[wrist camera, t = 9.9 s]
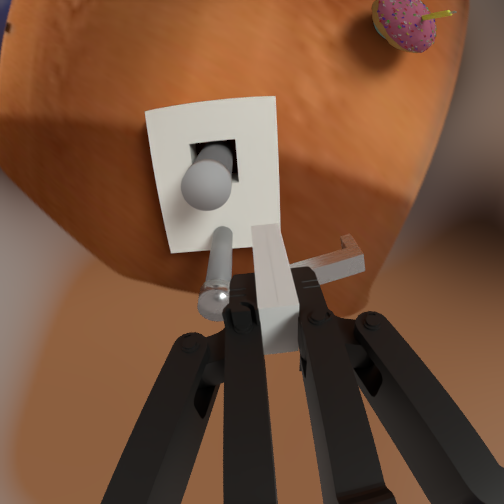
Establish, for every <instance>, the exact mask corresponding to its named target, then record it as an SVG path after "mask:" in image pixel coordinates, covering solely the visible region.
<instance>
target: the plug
mask: <svg viewBox="0 0 504 504" xmlns="http://www.w3.org/2000/svg"><path fill="white" fill-rule="evenodd" d="M232 165H233V150H232V148H231V146H230V145H229V144H228V143H226V142H225V141H222V140H219V141H210V142H208V143H207V144H206V145H205V146H204V147H203V149H202V150H201V152H200V153H199V155H198V156H197V158H196V159H195V161H194V162H193V164H192V165H191V166H190V167H189V168H188V170H187V171H186V173H185V174H184V176H183V178H182V182H181V192H182V195H183V197H184V199H185V200H186V202H187V203H188V204H189V205H190V206H192V207H193V208H195V209H198V210H202V211H211V210H215V209H218V208H220V207H221V206H223V205H224V204H225V203H226V202H227V200H228V199H229V197H230V194H231V188H232V178H231V175H232Z"/></svg>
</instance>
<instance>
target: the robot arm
mask: <svg viewBox="0 0 504 504" xmlns="http://www.w3.org/2000/svg"><path fill="white" fill-rule="evenodd" d="M251 232H252V244H253V256H254V269H255V273H247V274H237V275H234V276H233V278H232V279H231V281H230V287H229V290H230V291H229V304H227V305H226V306H225V307H224V308H223V312H222V316H223V320H224V324H225V328H224V329H223V330H222V331H220V332H219V333H216V334H214V335H212V336H208V337H204V336H203V335H202V334H199V333H196V332H194V333H187V334H183V335H182V336H180V337H179V338H178V339H177V340H176V341H175V343H174V345H173V346H172V349H171V351H170V353H169V355H168V357H167V359H166V361H165V363H164V365H163V367H162V369H161V371H160V373H159V375H158V377H157V379H156V382H155V384H154V386H153V388H152V390H151V392H150V394H149V396H148V398H147V401H146V403H145V405H144V407H143V409H142V411H141V414H140V416H139V418H138V420H137V422H136V424H135V426H134V429H133V431H132V434H131V435H130V437H129V440H128V442H127V444H126V446H125V449H124V451H123V453H122V455H121V458H120V460H119V462H118V464H117V467H116V469H115V471H114V474H113V476H112V478H111V481H110V483H109V485H108V488H107V490H106V492H105V495H104V497H103V500H102V502H101V504H181V501H182V498H183V496H184V493H185V490H186V486H187V484H188V480H189V478H190V475H191V472H192V469H193V466H194V463H195V460H196V456H197V454H198V451H199V448H200V445H201V442H202V439H203V436H204V433H205V429H206V426H207V423H208V420H209V417H210V414H211V411H212V408H213V405H214V402H215V399H216V396H217V392H218V389H219V387H220V384H221V383H223V382H224V426H223V427H224V429H223V430H224V431H223V434H224V435H223V436H224V437H223V484H224V485H223V492H224V504H278V501H277V489H276V479H275V467H274V456H273V445H272V434H271V423H270V412H269V401H268V391H267V379H266V368H265V359H264V355H266V354H275V353H284V352H292V351H298V348H299V350H300V371H302V375H303V381H304V386H305V392H306V397H307V403H308V409H309V414H310V420H311V426H312V432H313V438H314V444H315V451H316V457H317V463H318V469H319V476H320V483H321V489H322V496H323V503H324V504H397V503H396V500H395V497H394V495H393V493H392V492H391V491H390V490H389V489H388V488H387V487H386V485H385V482H384V479H383V475H382V470H381V466H380V462H379V459H378V455H377V451H376V447H375V443H374V439H373V436H372V432H371V428H370V425H369V421H368V418H367V414H366V411H365V408H364V404H363V400H362V397H361V394H360V391H359V388H360V389H361V391H362V392H363V394H364V396H365V397H366V398H367V400H368V402H369V403H370V405H371V407H372V408H373V410H374V411H375V413H376V415H377V416H378V418H379V419H380V421H381V423H382V424H383V426H384V427H385V429H386V431H387V432H388V434H389V435H390V437H391V439H392V440H393V442H394V443H395V445H396V447H397V448H398V450H399V452H400V453H401V455H402V457H403V458H404V460H405V461H406V463H407V465H408V466H409V468H410V470H411V471H412V473H413V475H414V476H415V478H416V480H417V481H418V483H419V485H420V486H421V488H422V490H423V491H424V493H425V495H426V496H427V498H428V500H429V501H430V502H431V504H504V468H503V467H501V466H500V465H499V464H498V463H497V461H496V460H495V458H494V456H493V455H492V454H491V452H490V451H489V449H488V448H487V446H486V445H485V443H484V442H483V440H482V439H481V438H480V436H479V435H478V433H477V432H476V430H475V429H474V428H473V426H472V425H471V423H470V422H469V421H468V419H467V418H466V417H465V415H464V414H463V413H462V411H461V410H460V409H459V407H458V406H457V405H456V403H455V402H454V401H453V399H452V398H451V397H450V395H449V394H448V393H447V391H446V390H445V389H444V388H443V386H442V385H441V384H440V382H439V381H438V380H437V379H436V377H435V376H434V375H433V374H432V373H431V371H430V370H429V369H428V367H427V366H426V365H425V364H424V362H423V361H422V360H421V359H420V358H419V357H418V355H417V354H416V353H415V352H414V350H413V349H412V348H411V347H410V346H409V344H408V343H407V342H406V341H405V340H404V338H403V337H402V336H401V335H400V334H399V333H398V331H397V330H396V329H395V328H394V327H393V326H392V324H391V323H390V322H389V321H388V320H387V319H386V318H385V317H384V316H383V315H382V314H379V313H377V312H372V311H368V312H364V313H362V314H360V315H358V317H357V318H356V320H353V319H344V318H340V317H337V316H335V315H334V314H333V312H332V311H330V310H329V309H328V307H327V305H326V302H325V299H324V296H323V293H322V290H321V288H320V285H319V282H318V280H317V277H316V274H315V272H314V271H313V270H312V269H311V268H310V267H309V266H305V267H296V268H290V266H289V262H288V258H287V254H286V250H285V247H284V243H283V239H282V235H281V232H280V228H279V224H278V223H275V224H265V225H256V226H251ZM358 386H359V387H358Z"/></svg>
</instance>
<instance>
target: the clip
mask: <svg viewBox="0 0 504 504" xmlns="http://www.w3.org/2000/svg"><path fill="white" fill-rule="evenodd" d="M340 240H341V246H342V249H341V250H338V251H335V252H331V253H328V254H324V255H321V256H318V257H314V258H311V259H307V260H304V261H300V262H297V263H294V264H290V265H289V266H290V268H296V267H305V266H309V267H310V268H311V269H312V270H313V271H314V272H315V274H316V277H317V280H318V282H319V285H321V284H324V283H327V282H331V281H334V280H337V279H341V278H344V277H347V276H350V275H354V274H357V273H360V272H363V271H365V265H364V254H363V252H362V251H361V249H360V248H359V246H358V245H357V243H356V242H355V240H354V239H353V237H352V236H351V234H347V235H344V236H340ZM229 287H230V281H229V282H227V281H225V280H222V279H212V280H209V281H207V282H205V283H204V284H203V285H202V286H201V288H200V293H199V300H198V310H199V313H200V314H201V315H202V316H203V317H204V318H206V319H208V320H211V321H224V320H223V316H222V312H223V308H224V307H225V306H226V305H227V304H229V291H230V290H229Z"/></svg>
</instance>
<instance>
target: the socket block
mask: <svg viewBox="0 0 504 504" xmlns="http://www.w3.org/2000/svg"><path fill="white" fill-rule="evenodd" d="M145 117H146V124H147V131H148V138H149V144H150V151H151V157H152V163H153V169H154V174H155V180H156V185H157V190H158V195H159V201H160V205H161V210H162V215H163V220H164V224H165V229H166V233H167V238H168V242H169V246H170V251H171V253H180V252H193V251H206V250H210V257H209V263H208V270H207V277H206V282H207V281H209V280H212V279H222V280H225V281H227V282H229V281H231V273H232V248H245V247H253V244H252V232H251V226H256V225H265V224H275V223H278V224H279V228H280V194H279V163H278V138H277V117H276V98H275V96H259V97H243V98H230V99H220V100H211V101H202V102H195V103H188V104H181V105H175V106H169V107H163V108H158V109H153V110H149V111H145ZM230 139H235V141H236V153H237V165H238V173H232V175H231V178H232V188H231V194H230V197H229V199H228V200H227V202H226V203H225V204H224V205H223V206H221V207H220V208H218V209H215V210H211V211H202V210H198V209H195V208H193V207H192V206H190V205H189V204H188V203H187V202H186V200H185V199H184V197H183V195H182V192H181V182H182V178H183V176H184V174H185V173H186V171H187V170H188V168H189V167H190V166H191V165H192V164H193V162H194V161H195V159H196V158H197V153H196V145H195V143H201V142H210V141H219V140H230Z"/></svg>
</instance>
